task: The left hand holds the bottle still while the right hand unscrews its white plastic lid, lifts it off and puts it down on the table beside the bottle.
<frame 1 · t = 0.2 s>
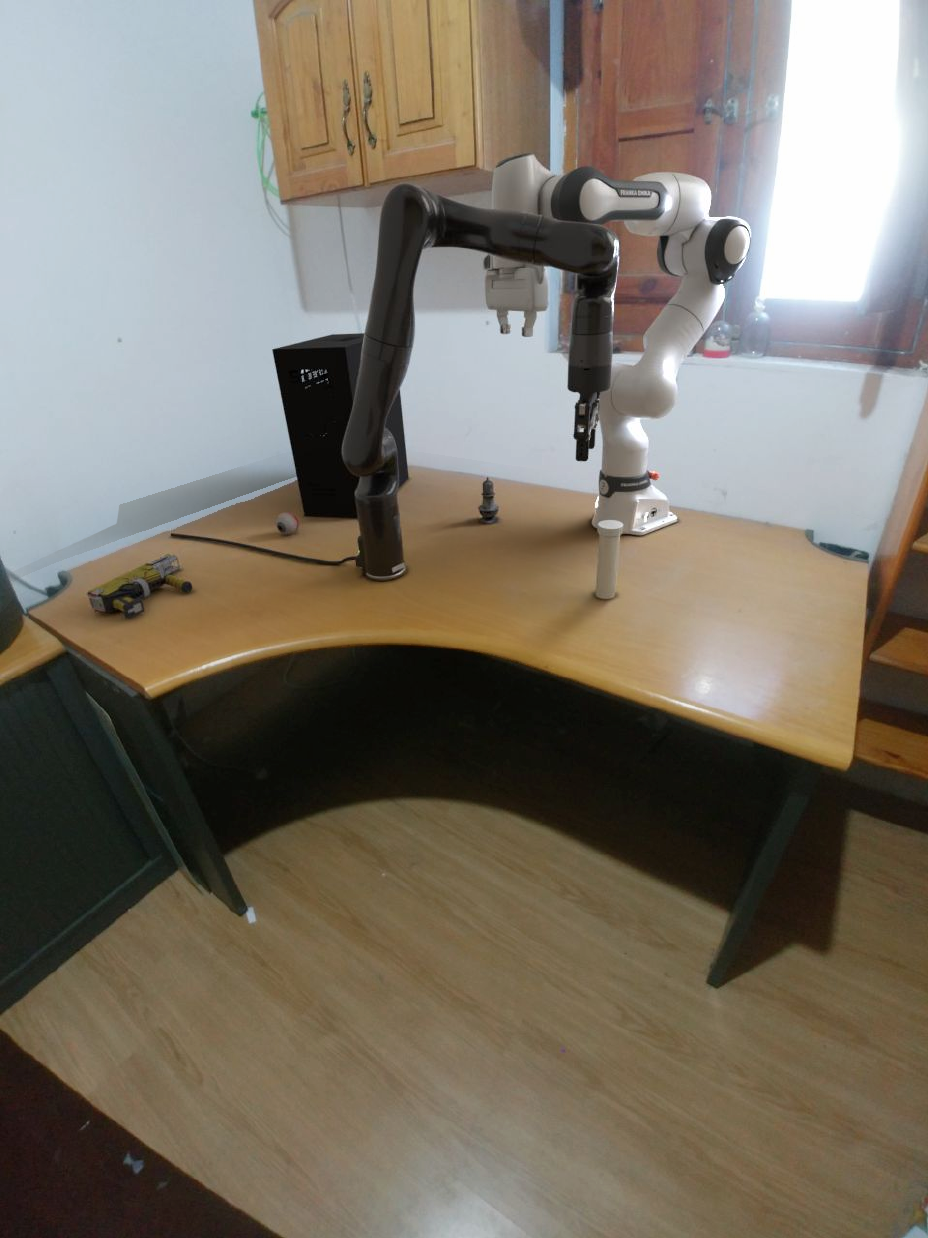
left hand: (585, 454, 113), 29 cm above the table, tool pointing down, fingers open, 8 cm apart
right hand: (516, 335, 125), 48 cm above the table, tool pointing down, fingers open, 8 cm apart
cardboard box: (360, 496, 191), on the table
bottle: (605, 594, 126), on the table
eyeball: (289, 534, 165), on the table
toy gun: (157, 594, 137), on the table
grey chess piece: (489, 520, 167), on the table
lid: (610, 525, 118), point 15 cm above the table, screwed on, not yet turned
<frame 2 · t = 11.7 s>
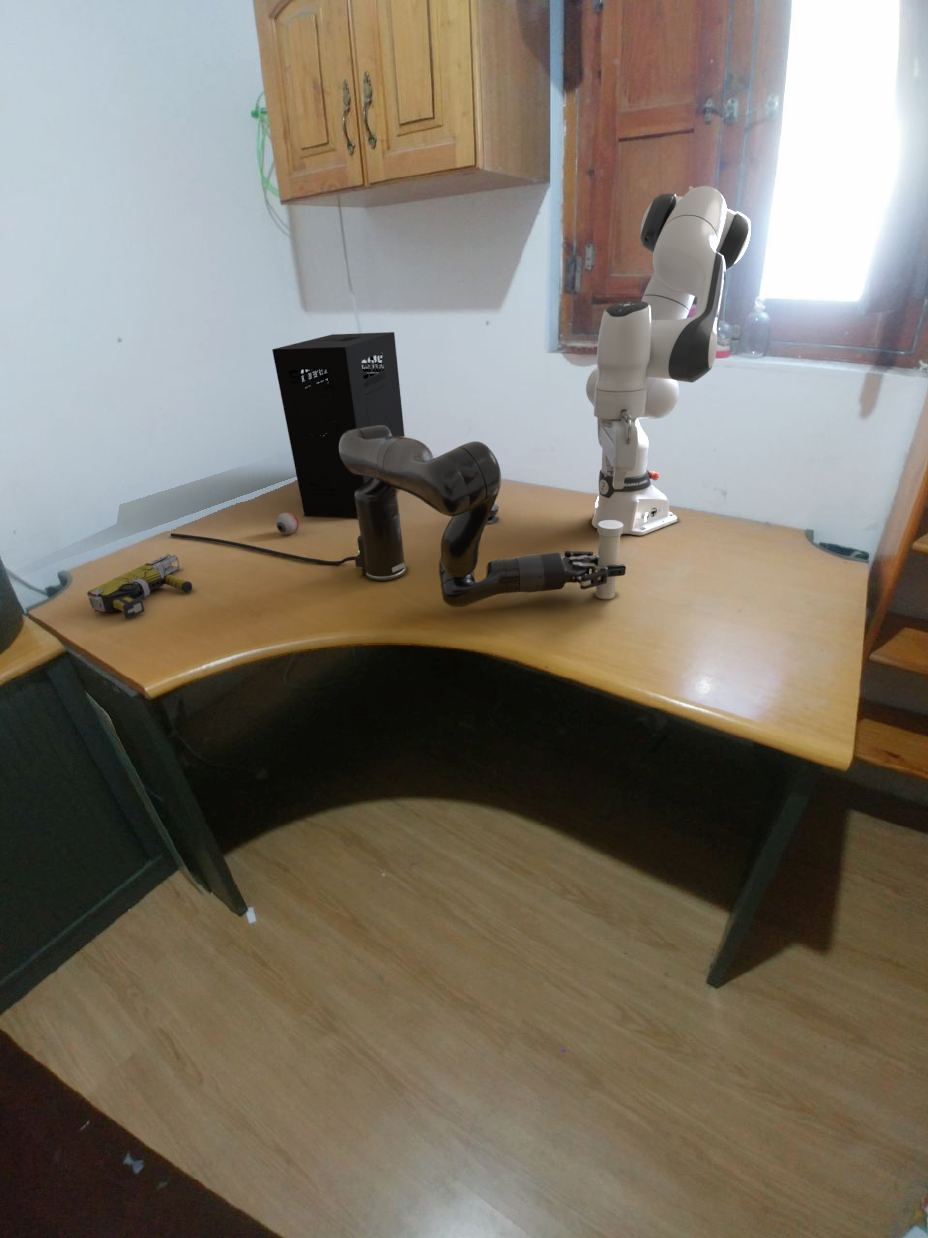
left hand: (620, 564, 123), 7 cm above the table, tool horizontal, fingers closed on bottle, 4 cm apart
right hand: (613, 481, 114), 24 cm above the table, tool pointing down, fingers open, 7 cm apart
bottle: (605, 594, 126), on the table, touching left hand
everything else where it was.
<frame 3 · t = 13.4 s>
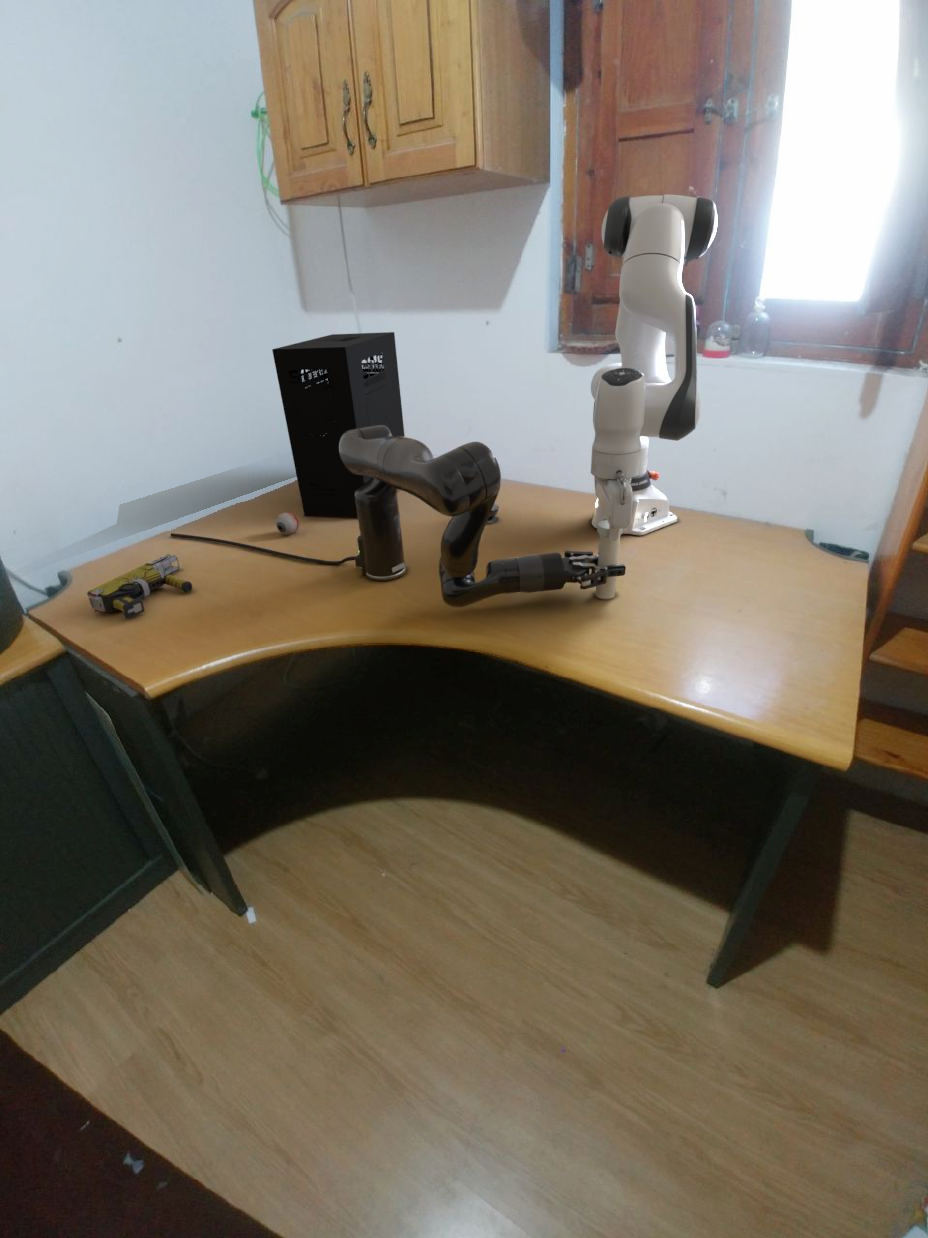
left hand: (620, 564, 123), 7 cm above the table, tool horizontal, fingers closed on bottle, 4 cm apart
right hand: (609, 533, 119), 14 cm above the table, tool pointing down, fingers closed on lid, 5 cm apart
bottle: (605, 594, 126), on the table, touching left hand
lid: (610, 526, 118), point 15 cm above the table, screwed on, not yet turned, touching right hand
everything else where it was.
when the right hand's fingers open (14 cm above the table, at t = 14.9 s): lid stays where it is, point 15 cm above the table.
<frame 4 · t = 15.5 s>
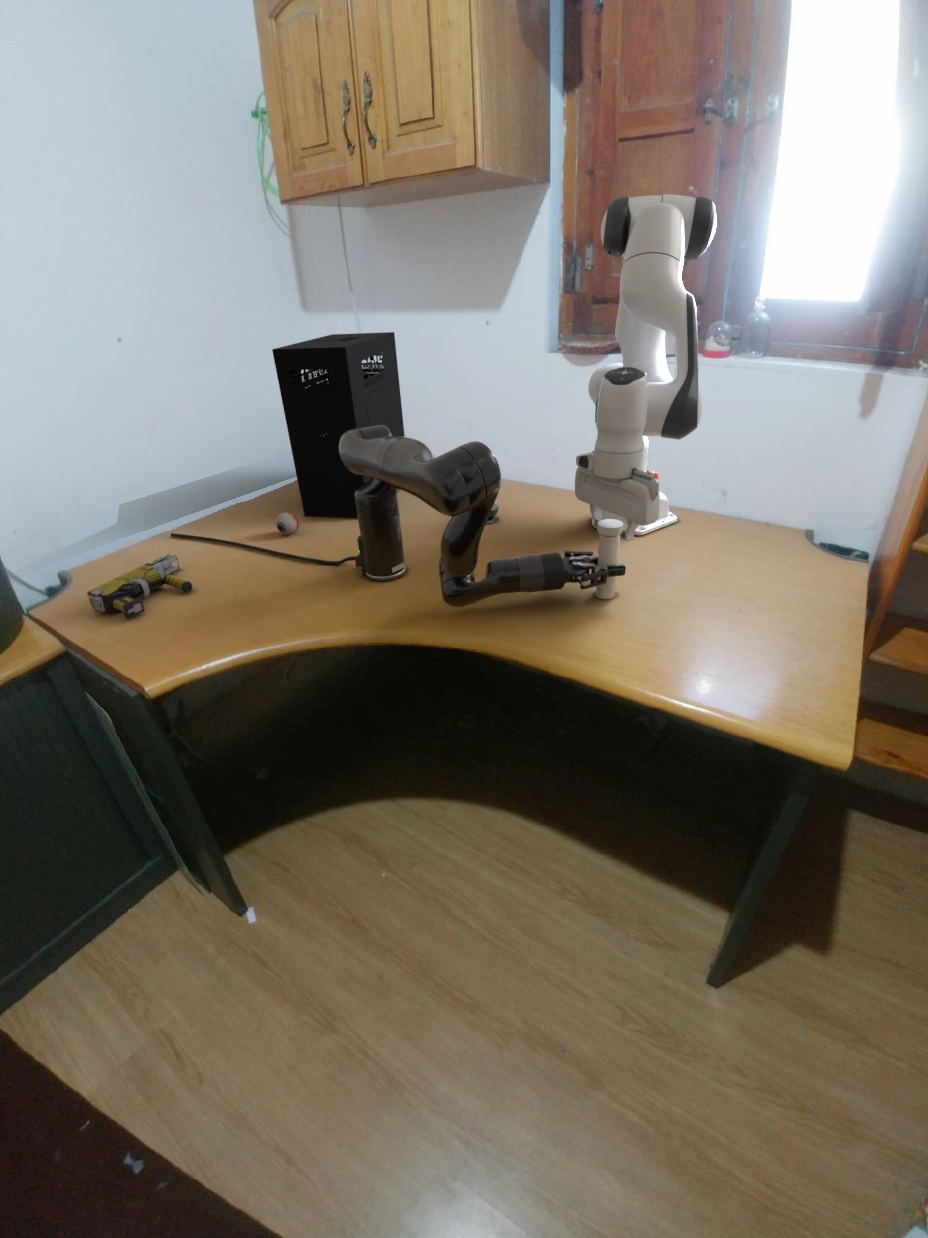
left hand: (620, 564, 123), 7 cm above the table, tool horizontal, fingers closed on bottle, 4 cm apart
right hand: (612, 532, 119), 14 cm above the table, tool pointing down, fingers open, 7 cm apart
bottle: (605, 594, 126), on the table, touching left hand
lid: (610, 525, 118), point 15 cm above the table, turned 84° so far, risen 0.2 cm, still on its thread
everything else where it was.
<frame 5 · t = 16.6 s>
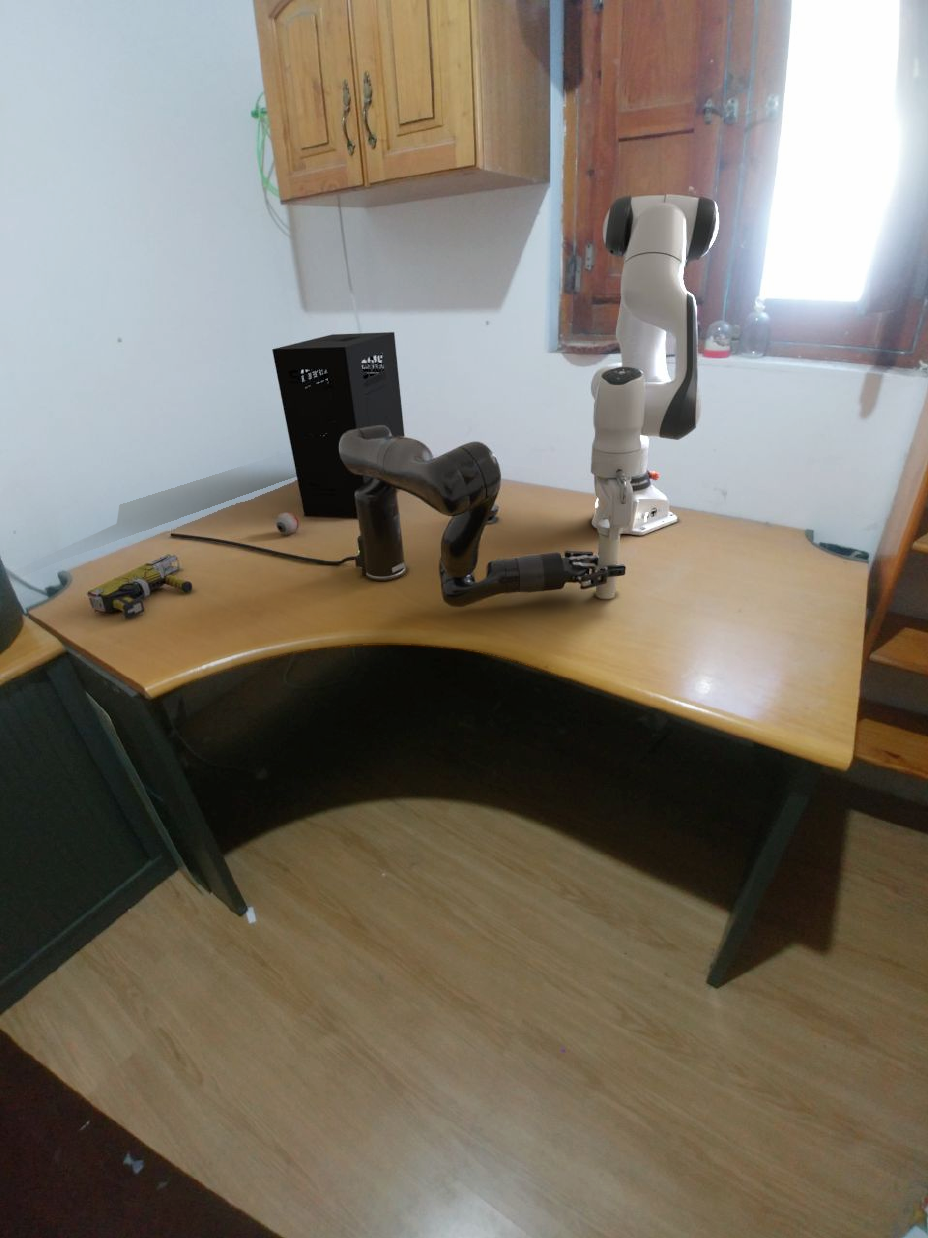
left hand: (620, 564, 123), 7 cm above the table, tool horizontal, fingers closed on bottle, 4 cm apart
right hand: (609, 532, 119), 14 cm above the table, tool pointing down, fingers closed on lid, 5 cm apart
bottle: (605, 594, 126), on the table, touching left hand
lid: (610, 525, 118), point 15 cm above the table, turned 84° so far, risen 0.2 cm, still on its thread, touching right hand
everything else where it was.
when the right hand's fingers open (2 cm above the table, at t = 23.5 s): lid drops 2 cm, point 1 cm above the table.
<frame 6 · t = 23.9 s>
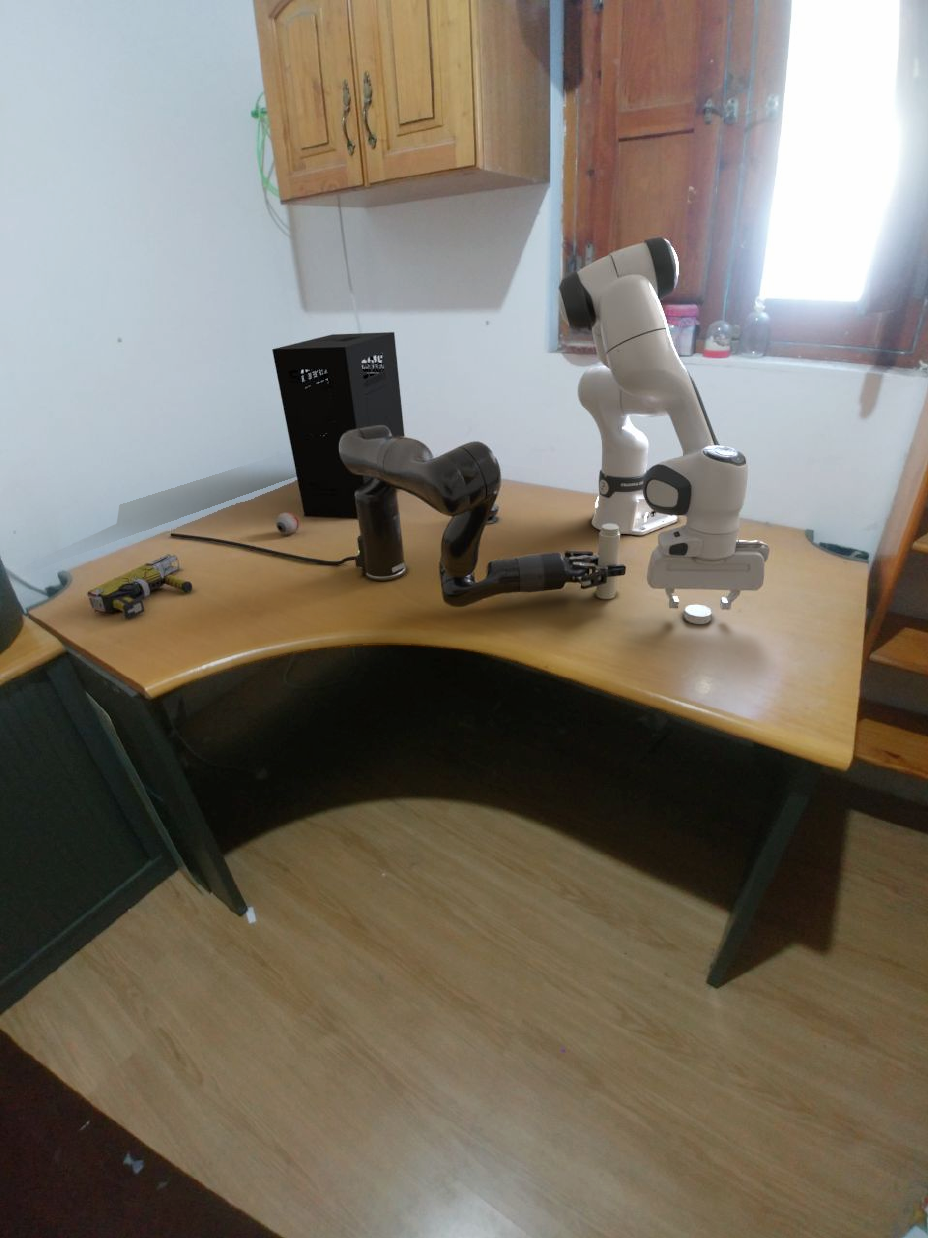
left hand: (620, 564, 123), 7 cm above the table, tool horizontal, fingers closed on bottle, 4 cm apart
right hand: (698, 607, 115), 2 cm above the table, tool pointing down, fingers open, 8 cm apart
bottle: (605, 594, 126), on the table, touching left hand
lid: (698, 611, 115), point 1 cm above the table, off its thread
everything else where it was.
when the left hand's fingers open (7 cm above the table, at t = 24.5 s): bottle stays where it is, on the table.
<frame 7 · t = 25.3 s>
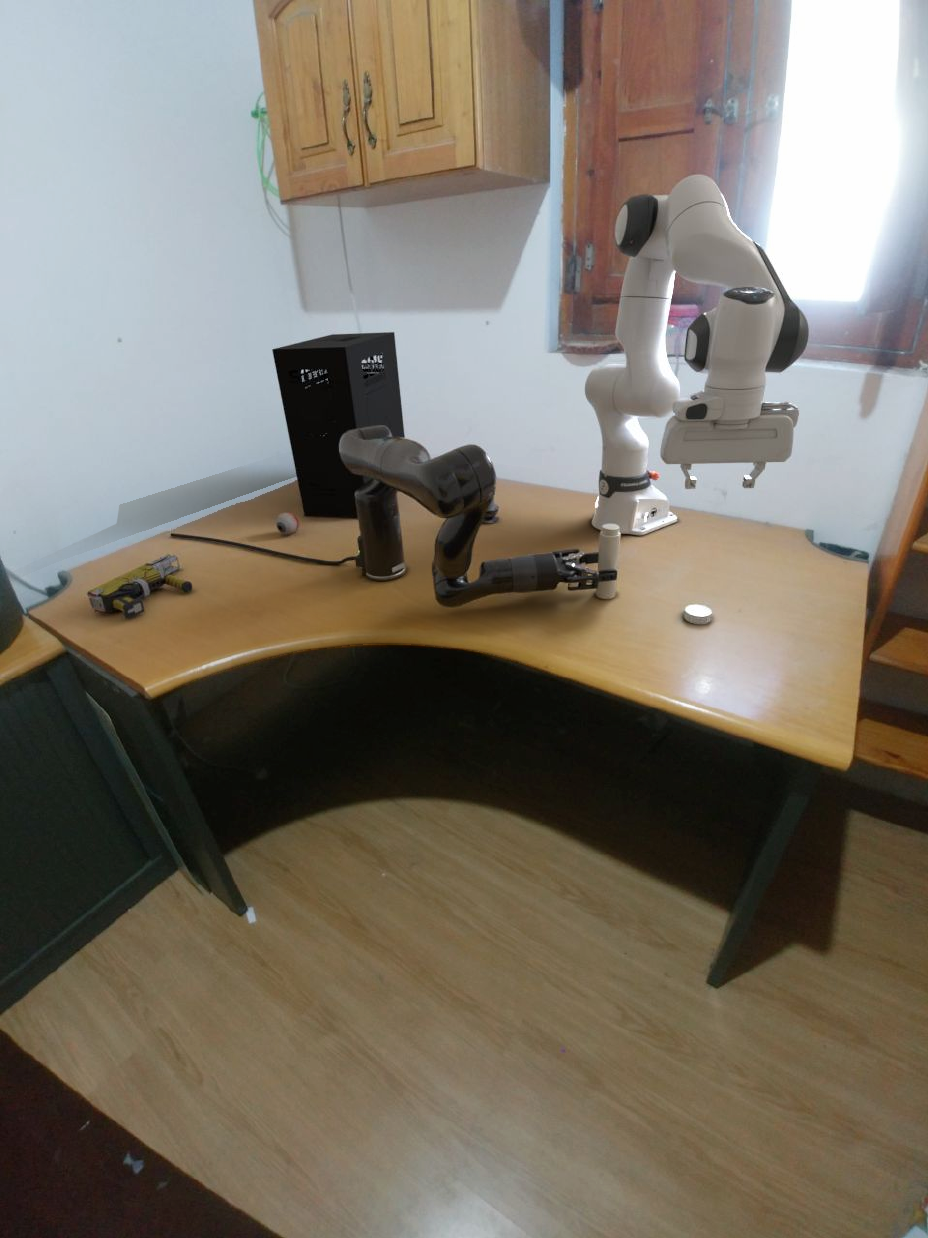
left hand: (609, 565, 123), 7 cm above the table, tool horizontal, fingers open, 8 cm apart
right hand: (718, 487, 103), 26 cm above the table, tool pointing down, fingers open, 8 cm apart
bottle: (605, 594, 126), on the table
everything else where it was.
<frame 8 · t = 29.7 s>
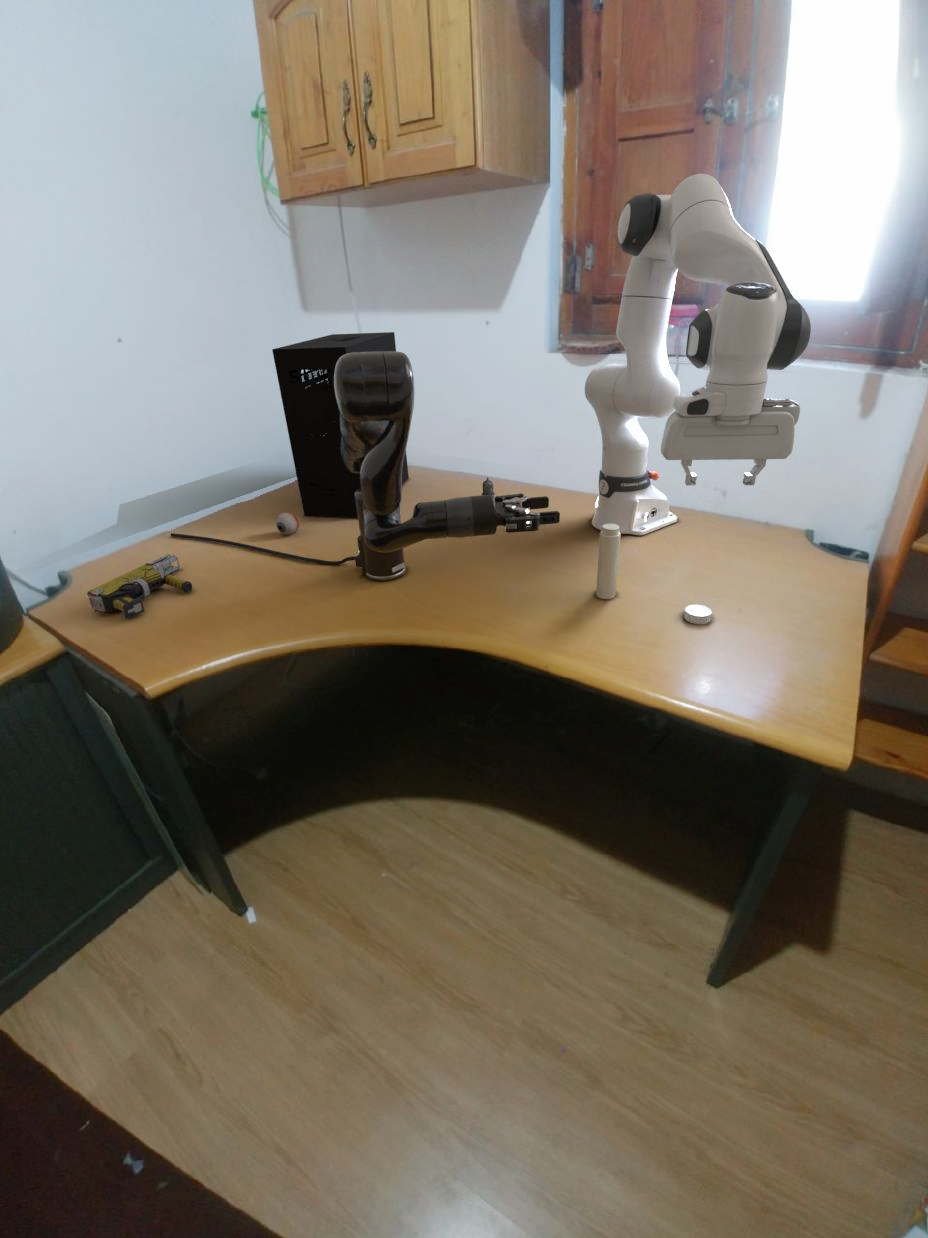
left hand: (553, 509, 115), 20 cm above the table, tool horizontal, fingers open, 8 cm apart
right hand: (719, 484, 103), 26 cm above the table, tool pointing down, fingers open, 8 cm apart
nothing on the table moved.
at the end: lid came off its thread; lid point 1.3 cm above the table; the left hand is holding nothing; the right hand is holding nothing; bottle tilted 0°; bottle moved 0.1 cm from its start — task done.
